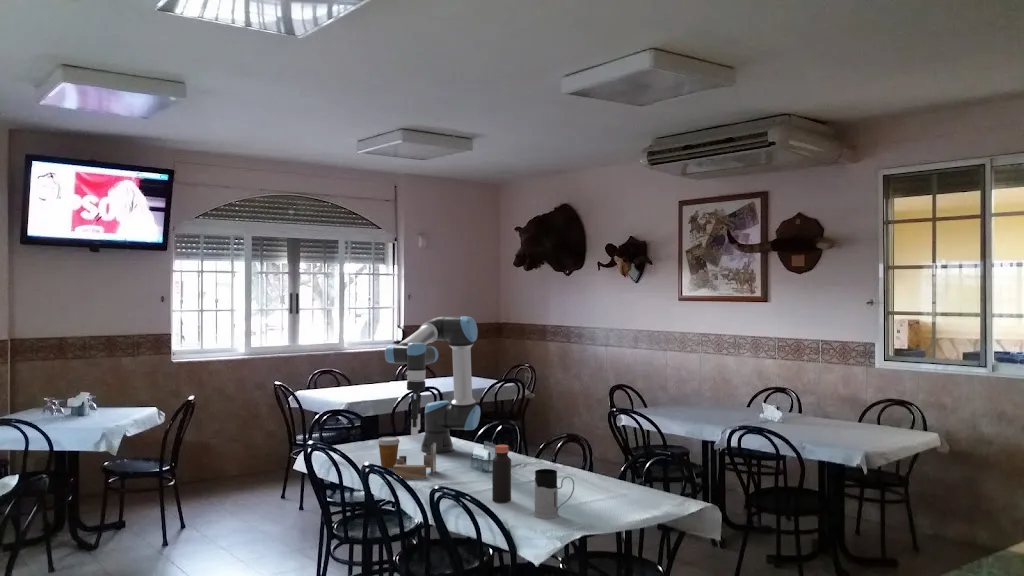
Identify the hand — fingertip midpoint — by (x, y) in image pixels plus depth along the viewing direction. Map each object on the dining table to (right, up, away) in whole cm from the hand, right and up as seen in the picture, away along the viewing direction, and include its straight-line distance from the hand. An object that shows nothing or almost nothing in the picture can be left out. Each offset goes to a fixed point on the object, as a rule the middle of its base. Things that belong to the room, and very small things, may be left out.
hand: (415, 432), depth 321 cm
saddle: (-7, -18, +8) cm, 21 cm away
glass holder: (+54, -19, -54) cm, 79 cm away
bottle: (+36, -19, -35) cm, 54 cm away
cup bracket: (+5, -18, +7) cm, 20 cm away
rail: (-2, -19, 0) cm, 19 cm away
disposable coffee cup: (-14, -19, +20) cm, 31 cm away
